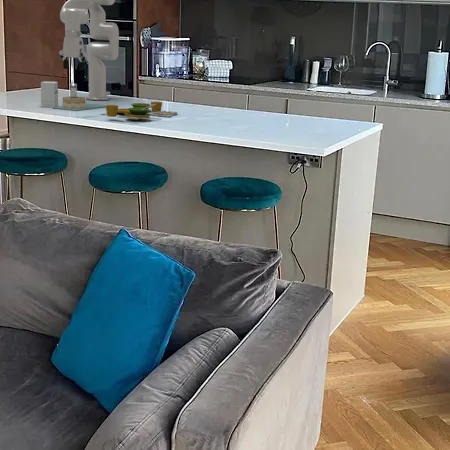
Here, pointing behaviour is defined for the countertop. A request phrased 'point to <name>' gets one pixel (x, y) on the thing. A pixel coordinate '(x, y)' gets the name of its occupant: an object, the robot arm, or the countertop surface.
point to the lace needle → (73, 90)
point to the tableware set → (137, 110)
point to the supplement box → (49, 94)
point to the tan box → (74, 102)
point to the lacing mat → (88, 106)
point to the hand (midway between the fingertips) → (73, 69)
